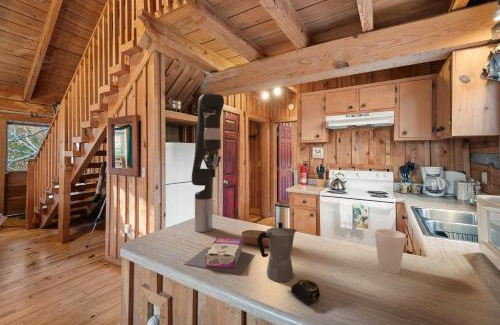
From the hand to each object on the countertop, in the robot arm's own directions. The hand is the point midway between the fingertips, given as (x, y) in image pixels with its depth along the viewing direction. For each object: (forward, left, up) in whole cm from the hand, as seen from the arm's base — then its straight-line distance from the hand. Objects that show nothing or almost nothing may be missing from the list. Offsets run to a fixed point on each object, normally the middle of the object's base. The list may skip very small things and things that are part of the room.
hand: (212, 177), depth 103 cm
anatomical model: (-6, +24, -31) cm, 40 cm away
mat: (+13, +11, -31) cm, 35 cm away
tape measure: (+27, +44, -31) cm, 60 cm away
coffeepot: (+18, +34, -31) cm, 49 cm away
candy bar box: (+4, +10, -28) cm, 30 cm away
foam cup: (0, +71, -31) cm, 77 cm away
